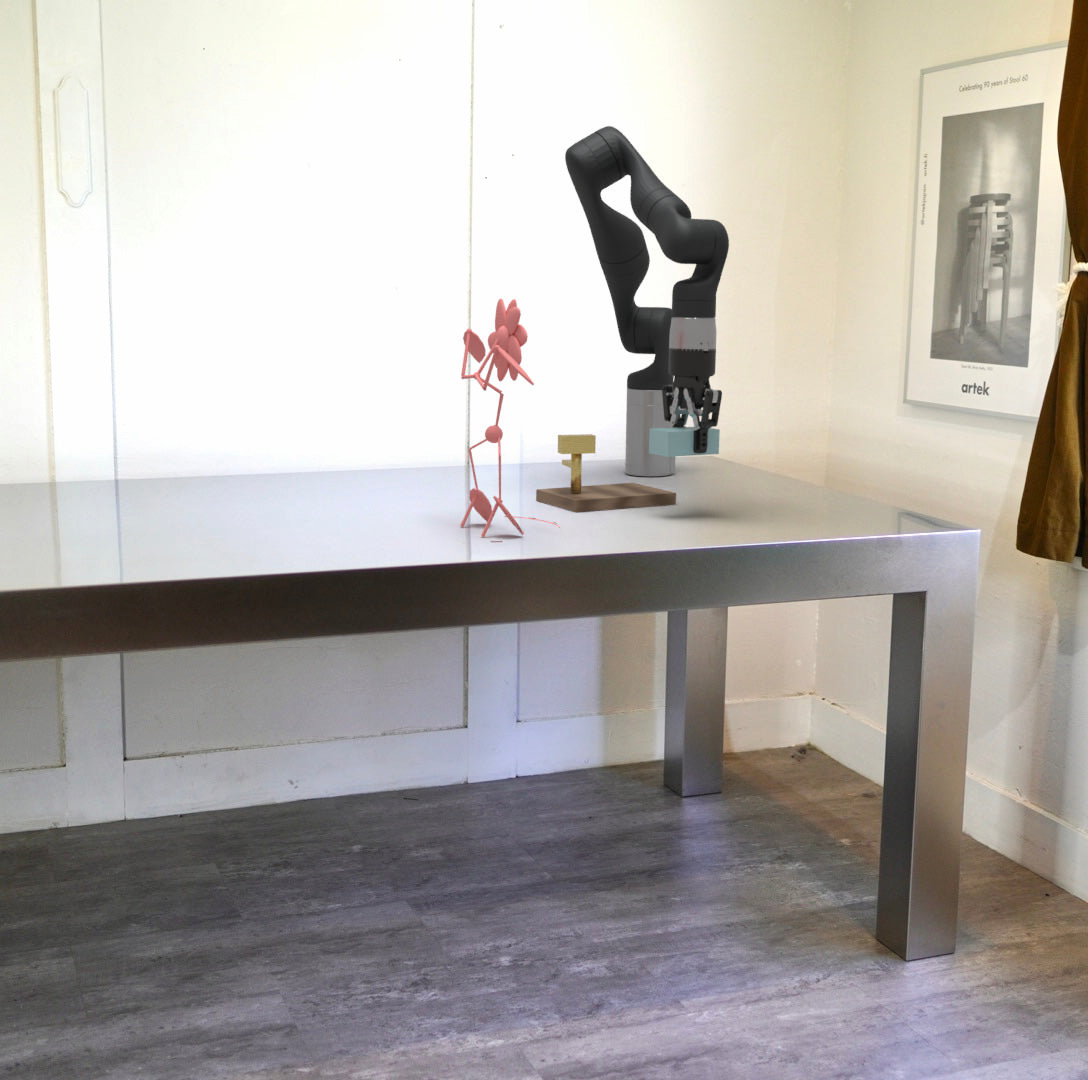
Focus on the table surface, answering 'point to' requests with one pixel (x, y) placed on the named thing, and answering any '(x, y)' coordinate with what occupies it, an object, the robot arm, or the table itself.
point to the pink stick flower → (505, 356)
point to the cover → (680, 441)
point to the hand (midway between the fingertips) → (689, 450)
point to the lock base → (606, 497)
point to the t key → (576, 455)
